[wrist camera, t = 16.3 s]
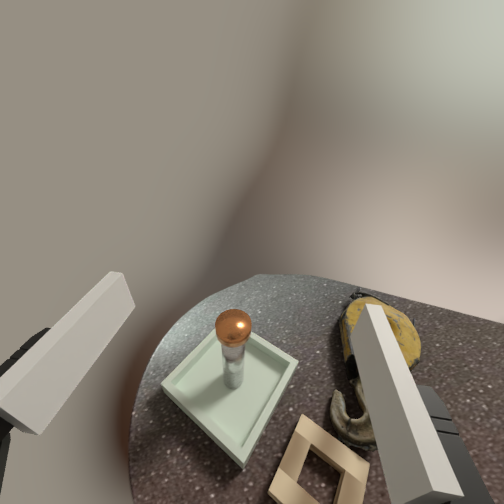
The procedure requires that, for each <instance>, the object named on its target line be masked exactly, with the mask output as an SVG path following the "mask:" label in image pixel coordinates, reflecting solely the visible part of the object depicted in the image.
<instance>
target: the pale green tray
mask: <svg viewBox="0 0 504 504" xmlns="http://www.w3.org/2000/svg"><path fill="white" fill-rule="evenodd" d="M298 362H299V361H297V360H296V359H294V358H293V357H291V356H289V355H288V354H286V353H285V352H283V351H281V350H280V349H278V348H277V347H275V346H274V345H272V344H270V343H269V342H267V341H266V340H264V339H262V338H261V337H259V336H258V335H256V334H255V333H253V332H251V335H250V338H249V339H248V341H247V342H246V343H245V360H244V378H243V383H242V385H241V386H240V387H239V388H237V389H229V388H227V387H226V386H225V384H224V382H223V366H222V347H221V343H220V342H219V341H218V339H217V337H216V328H215V329H214V330H213V331H212V332H211V333H210V334H209V335H208V336H207V337H206V338H205V339H204V340H203V341H202V342H201V343H200V344H199V345H198V346H197V347H196V348H195V349H194V350H193V351H192V352H191V353H190V354H189V355H188V356H187V357H186V358H185V359H184V360H183V361H182V362H181V363H180V364H179V365H178V366H177V367H176V368H175V369H174V370H173V371H172V372H171V373H170V374H169V376H168V377H167V378H166V379H165V380H164V381H163V382H162V383H161V386H162V388H163V391H164V393H165V394H166V395H167V396H168V397H169V398H170V399H171V400H172V401H173V402H174V403H175V404H176V405H177V406H178V407H179V408H180V409H181V410H182V411H184V412H185V413H186V414H187V415H188V416H189V417H190V418H191V419H192V420H193V421H194V422H195V423H196V424H197V425H198V426H199V427H200V428H201V429H202V430H203V431H204V432H205V433H206V434H207V435H208V436H209V437H210V438H211V439H212V440H213V441H214V442H215V443H216V444H217V445H218V446H219V447H220V448H221V449H222V450H223V451H224V452H225V453H227V454H228V455H229V456H230V457H231V458H232V459H233V460H234V461H235V462H236V463H237V464H238V465H239V466H240V467H241V468H242V469H244V467H245V465H246V464H247V462H248V460H249V458H250V456H251V454H252V452H253V450H254V448H255V447H256V445H257V443H258V441H259V439H260V437H261V435H262V433H263V431H264V430H265V428H266V426H267V424H268V422H269V420H270V418H271V416H272V414H273V413H274V411H275V409H276V407H277V405H278V403H279V401H280V399H281V397H282V396H283V394H284V392H285V390H286V388H287V386H288V384H289V382H290V380H291V379H292V377H293V375H294V373H295V371H296V368H297V365H298Z"/></svg>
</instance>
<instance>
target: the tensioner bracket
mask: <svg viewBox="0 0 504 504" xmlns="http://www.w3.org/2000/svg"><path fill="white" fill-rule="evenodd" d="M309 449H310V450H312V451H313V452H314V453H315V454H317V455H318V456H319V457H320V458H322V459H323V460H324V461H325V462H327V463H328V464H329V465H330V466H332V467H333V468H334V469H335V470H337V471H338V472H339V473H340V474H341V476H340V479H339V483H338V487H337V491H336V495H335V499H334V502H333V504H362V503H363V497H364V492H365V487H366V482H367V476H368V471H369V466H370V463H368V462H367V461H365V460H364V459H363V458H361V457H360V456H359V455H357V454H356V453H355V452H353V451H352V450H351V449H349V448H348V447H347V446H345V445H344V444H342V443H341V442H340V441H338V440H337V439H336V438H334V437H333V436H332V435H330V434H329V433H328V432H326V431H325V430H323V429H322V428H321V427H319V426H318V425H317V424H315V423H314V422H313V421H311V420H310V419H309V418H307V417H306V416H304V415H303V414H302V415H301V417H300V419H299V422H298V424H297V426H296V428H295V431H294V433H293V435H292V438H291V440H290V442H289V445H288V447H287V449H286V451H285V454H284V456H283V458H282V461H281V463H280V465H279V467H278V470H277V472H276V474H275V477H274V479H273V481H272V483H271V486H270V488H269V490H268V493H267V494H268V495H269V496H271V497H272V498H273V499H274V500H275V501H276V502H277V503H278V504H319V503H318V502H317V501H316V500H315V499H314V498H313V497H312V496H310V495H309V494H308V493H307V492H306V491H305V490H304V489H303V488H301V487H300V486H299V485H298V484H297V483H296V482H297V480H298V477H299V474H300V472H301V469H302V466H303V463H304V461H305V458H306V455H307V453H308V450H309Z"/></svg>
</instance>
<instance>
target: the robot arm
mask: <svg viewBox="0 0 504 504" xmlns="http://www.w3.org/2000/svg"><path fill="white" fill-rule="evenodd" d="M134 308H135V304H134V301H133V299H132V296H131V294H130V291H129V288H128V286H127V283H126V280H125V278H124V275H123V273H118V272H109V273H108V274H107V275H106V276H105V277H104V278H103V279H102V280H101V281H100V282H99V283H98V284H97V285H96V286H95V287H93V289H92V290H90V291H89V292H88V293H87V294H86V295H85V296H84V297H83V298H82V299H81V300H80V301H79V302H78V303H77V304H76V305H75V306H74V307H73V308H72V309H71V310H70V311H69V312H68V313H67V314H66V315H64V316H63V317H62V318H61V319H60V320H59V321H58V322H57V323H56V324H55V325H54V326H53V327H52V328H45V329H43V330H42V331H40V332H39V333H37V334H35V335H34V336H32V337H31V338H30V339H29V340H28V341H27V342H26V343H25V344H24V345H22V346H21V347H20V349H19V350H17V351H16V352H15V353H14V354H13V355H12V356H11V357H10V359H7V360H6V361H5V362H4V363H3V364H2V365H1V366H0V493H1V488H2V482H3V477H4V472H5V466H6V461H7V455H8V450H9V444H10V440H11V439H10V433H9V432H10V430H11V429H12V428H13V427H16V428H17V429H19V430H20V431H22V432H25V433H30V434H35V435H41V433H42V432H43V431H44V429H45V428H46V427H47V425H48V424H49V423H50V421H51V420H52V419H53V417H54V416H55V415H56V413H57V412H58V411H59V409H60V408H61V407H62V405H63V404H64V403H65V401H66V400H67V398H68V397H69V396H70V394H71V393H72V392H73V390H74V389H75V388H76V386H77V385H78V384H79V382H80V381H81V379H82V378H83V377H84V375H85V374H86V373H87V371H88V370H89V369H90V367H91V366H92V365H93V363H94V362H95V361H96V359H97V358H98V357H99V355H100V354H101V352H102V351H103V350H104V348H105V347H106V346H107V344H108V343H109V342H110V340H111V339H112V338H113V336H114V335H115V334H116V332H117V331H118V330H119V328H120V327H121V326H122V324H123V323H124V321H125V320H126V319H127V317H128V316H129V315H130V313H131V312H132V311H133V309H134ZM350 339H351V343H352V347H353V351H354V355H355V359H356V363H357V367H358V371H359V375H360V379H361V383H362V387H363V391H364V395H365V399H366V403H367V407H368V411H369V415H370V419H371V423H372V427H373V431H374V435H375V439H376V443H377V447H378V451H379V455H380V460H381V464H382V468H383V472H384V476H385V480H386V484H387V488H388V492H389V496H390V500H391V504H495V503H494V501H493V499H492V498H491V496H490V494H489V492H488V490H487V488H486V486H485V484H484V482H483V480H482V478H481V476H480V474H479V472H478V470H477V468H476V466H475V464H474V462H473V460H472V458H471V456H470V454H469V452H468V450H467V448H466V446H465V444H464V442H463V440H462V439H461V437H459V433H458V431H457V429H456V427H455V425H454V423H453V422H452V419H451V417H450V415H449V413H448V411H447V409H446V407H445V405H444V403H443V401H442V400H441V399H440V398H439V396H438V395H437V394H436V393H435V392H434V390H433V389H432V388H431V387H429V386H422V385H416V384H415V382H414V380H413V377H412V375H411V373H410V370H409V368H408V366H407V364H406V361H405V359H404V357H403V354H402V352H401V350H400V347H399V345H398V343H397V341H396V338H395V336H394V334H393V331H392V329H391V327H390V324H389V322H388V320H387V318H386V315H385V313H384V311H383V308H382V306H381V305H373V304H365V306H364V308H363V310H362V312H361V314H360V316H359V318H358V321H357V323H356V325H355V327H354V329H353V331H352V333H351V336H350Z"/></svg>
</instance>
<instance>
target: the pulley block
mask: <svg viewBox="0 0 504 504" xmlns="http://www.w3.org/2000/svg"><path fill="white" fill-rule="evenodd" d="M359 290H360V287H358V289H357V290H356V291H355V294H354V292H353V294H352V295H351V296H350V297H351V298H352V299H353V301H352V303H351V304H349V305H348V306H347V307H346V310H344V312H343V314H341V317H340V320H338V319H337V320H338V321H339V328H340V333H341V338H340V339H341V341H342V346H343V354H344V362H345V367H346V371H347V375H348V377H347V378H348V379H349V380H350V385H351V387H352V388H353V389H354V391H355V394H356V396H357V400H358V404H359V408H360V409H361V411H362V412H363V413H364V414H363V416H362V417H361V418H359V419H351V418H350V417H349V416H348V415H347V414H346V405H345V400H344V398H343V395H342V393H341V392H339V391H338V390H335V391H334V392H333V395H332V402H331V406H330V419H331V422H332V425H333V427H334V430H335V431H336V432H337V434H338V441H339V440H342V441H343V442H344V443H345V445H346V446H347V447H349V446H354V447H358V448H362V449H364V450H365V451H368V450H371V451H372V452H373V451H375V450H378V447H377V443H376V439H375V435H374V431H373V427H372V423H371V419H370V415H369V411H368V407H367V403H366V399H365V395H364V391H363V387H362V383H361V379H360V375H359V371H358V367H357V363H356V359H355V355H354V351H353V347H352V343H351V339H350V336H351V333H352V331H353V329H354V327H355V325H356V323H357V321H358V318H359V316H360V314H361V312H362V310H363V308H364V306H365V304H373V305H381V306H382V308H383V311H384V313H385V315H386V318H387V320H388V322H389V324H390V327H391V329H392V331H393V334H394V336H395V338H396V341H397V343H398V345H399V347H400V350H401V352H402V354H403V357H404V359H405V361H406V364H407V366H408V368H409V370H410V371H411V370H412V369H413V368H415V366H416V365H417V364H418V363H419V360H420V352H421V343H420V339H419V336H418V333H417V331H416V329H415V318H414V319H413V324H412V323H411V321H410V320H409V319H408V317H407V316H406V315H405V314H403V313H401V312H399V311H398V310H396V309H394V308H392V306H390V305H389V304H388V303H387V302H385V301H383V300H381V299H379V298H378V297H376V296H373V295H370V294H366V293H362V292H359ZM358 294H361V295H362V297H361V296H359V297H361V298H359V297H358ZM350 297H349V298H350ZM357 297H358V298H359V299H357Z"/></svg>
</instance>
